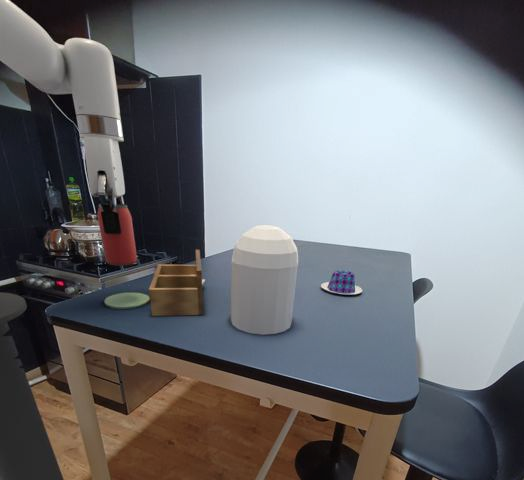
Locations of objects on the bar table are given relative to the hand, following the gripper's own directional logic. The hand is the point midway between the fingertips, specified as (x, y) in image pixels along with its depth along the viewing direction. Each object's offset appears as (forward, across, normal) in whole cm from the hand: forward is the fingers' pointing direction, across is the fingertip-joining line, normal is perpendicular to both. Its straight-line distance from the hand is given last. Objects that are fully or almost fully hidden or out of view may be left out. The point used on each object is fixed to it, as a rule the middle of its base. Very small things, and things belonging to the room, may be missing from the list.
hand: (116, 229), depth 68 cm
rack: (+16, -1, +12) cm, 20 cm away
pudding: (+16, -7, +58) cm, 61 cm away
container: (+16, +14, +30) cm, 37 cm away
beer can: (+7, 0, 0) cm, 7 cm away
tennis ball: (+14, -8, +15) cm, 22 cm away
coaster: (+16, 0, 0) cm, 16 cm away
